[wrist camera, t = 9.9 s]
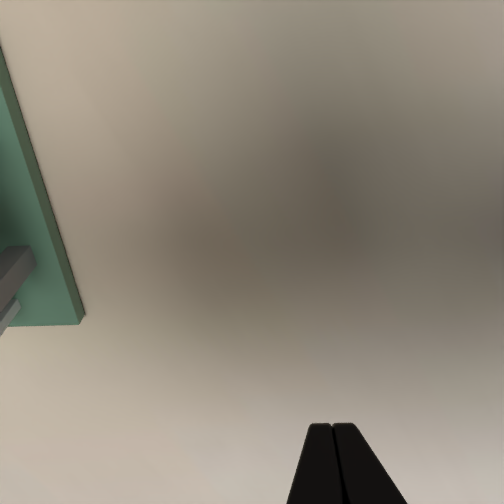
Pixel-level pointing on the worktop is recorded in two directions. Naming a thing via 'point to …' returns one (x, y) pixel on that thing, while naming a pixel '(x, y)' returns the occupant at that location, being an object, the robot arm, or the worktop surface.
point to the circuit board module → (29, 232)
